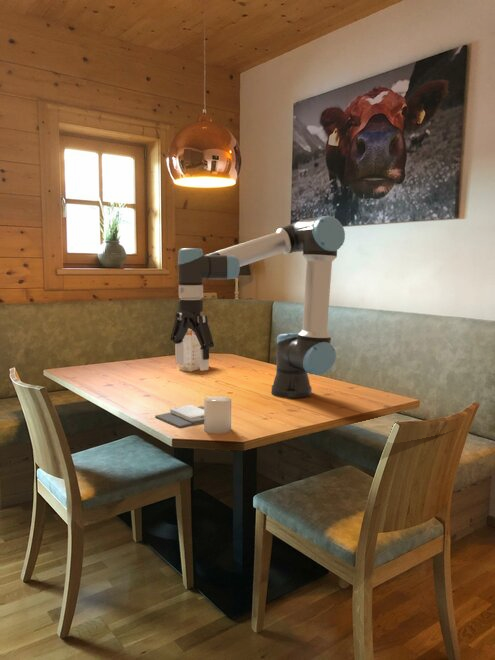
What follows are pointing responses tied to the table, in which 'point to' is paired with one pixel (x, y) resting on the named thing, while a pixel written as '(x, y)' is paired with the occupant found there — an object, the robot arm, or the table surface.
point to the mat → (177, 419)
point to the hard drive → (189, 412)
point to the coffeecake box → (190, 352)
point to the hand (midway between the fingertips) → (191, 366)
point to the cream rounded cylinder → (217, 414)
